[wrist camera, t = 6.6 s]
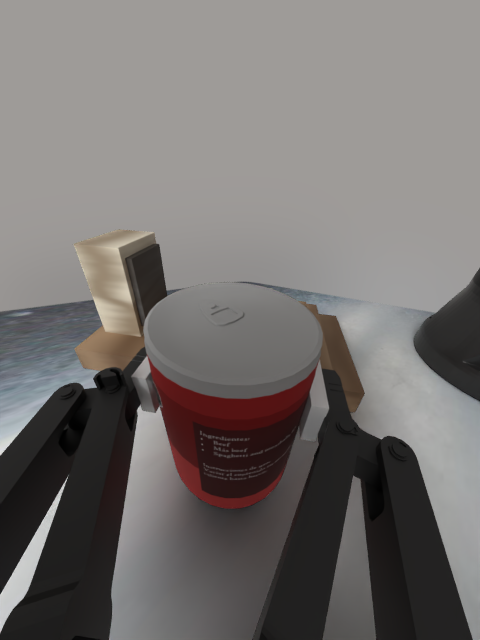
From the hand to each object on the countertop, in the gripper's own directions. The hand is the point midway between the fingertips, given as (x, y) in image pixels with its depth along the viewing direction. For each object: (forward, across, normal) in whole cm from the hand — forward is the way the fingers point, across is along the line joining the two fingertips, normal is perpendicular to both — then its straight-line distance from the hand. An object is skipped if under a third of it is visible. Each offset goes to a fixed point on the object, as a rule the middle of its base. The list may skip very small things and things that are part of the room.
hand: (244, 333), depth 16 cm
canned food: (-5, 0, -7) cm, 8 cm away
